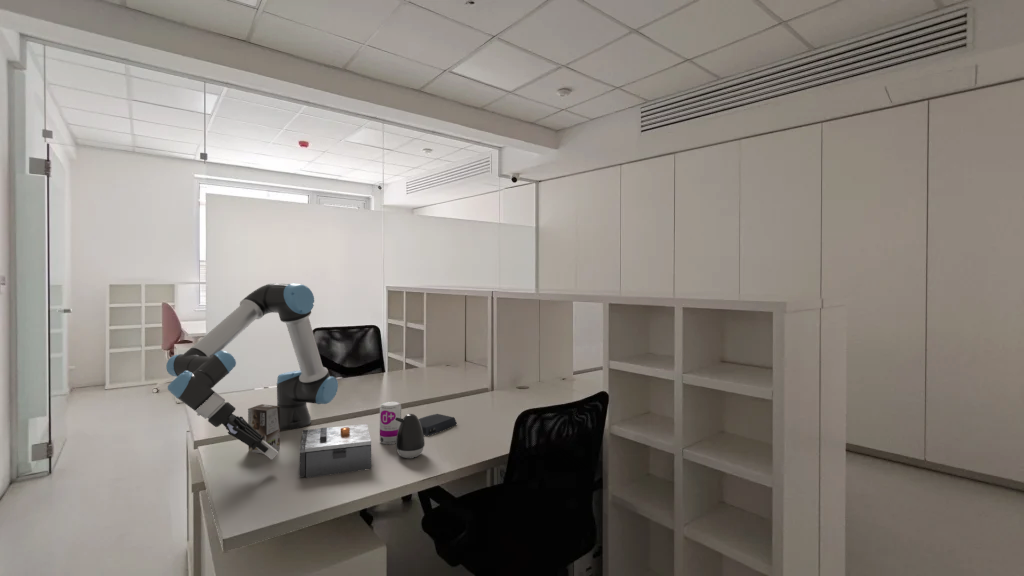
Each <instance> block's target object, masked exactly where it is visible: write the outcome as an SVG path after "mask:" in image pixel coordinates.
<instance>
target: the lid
mask: <svg viewBox="0 0 1024 576" xmlns="http://www.w3.org/2000/svg"><path fill="white" fill-rule="evenodd" d="M363 445H371V446H372V438H371V435H370V430H369V426H368V423H364V424H363V423H361V424H350V425H341V426H334V427H333V426H331V427H321V428H313V429H312V428H311V429H310V428H309V429H303V430H302V435H301V440H300V445H299V478H303V477H305V478H306V452H311V451H320V450H328V449H337V448H346V447H354V446H363Z"/></svg>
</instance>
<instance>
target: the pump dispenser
mask: <svg viewBox="0 0 1024 576" xmlns="http://www.w3.org/2000/svg"><path fill="white" fill-rule="evenodd" d="M419 419H420V418H418V416H417V415H416V414H414V413H407V414H406V415H404V417H403V418H402V417H401V418H397V417H396V419H395V420H396V421H399V422H401V424H400V426H399V429H398V433H397V438H396V444H395V448H396V452H397V453H398V455H399V456H400V457H401V458H404V459H414V457H415V458H416V457H419V456H420V455H421V454H422V452H423V451H424V447H425V444H426V443H425V436H424V434H423V429H422V426H421V423H420V421H419Z"/></svg>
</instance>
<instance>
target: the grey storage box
mask: <svg viewBox="0 0 1024 576" xmlns="http://www.w3.org/2000/svg"><path fill="white" fill-rule="evenodd" d="M365 469H369V470H372V444H371V445H363V446H354V447H346V448H337V449H328V450H320V451H311V452H306V473H305V478H315V477H321V476H322V477H323V476H330V474H331V475H338V473H339V474H345V473H352V471H354V472H359V471H358V470H361V471H366V470H365Z"/></svg>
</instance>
